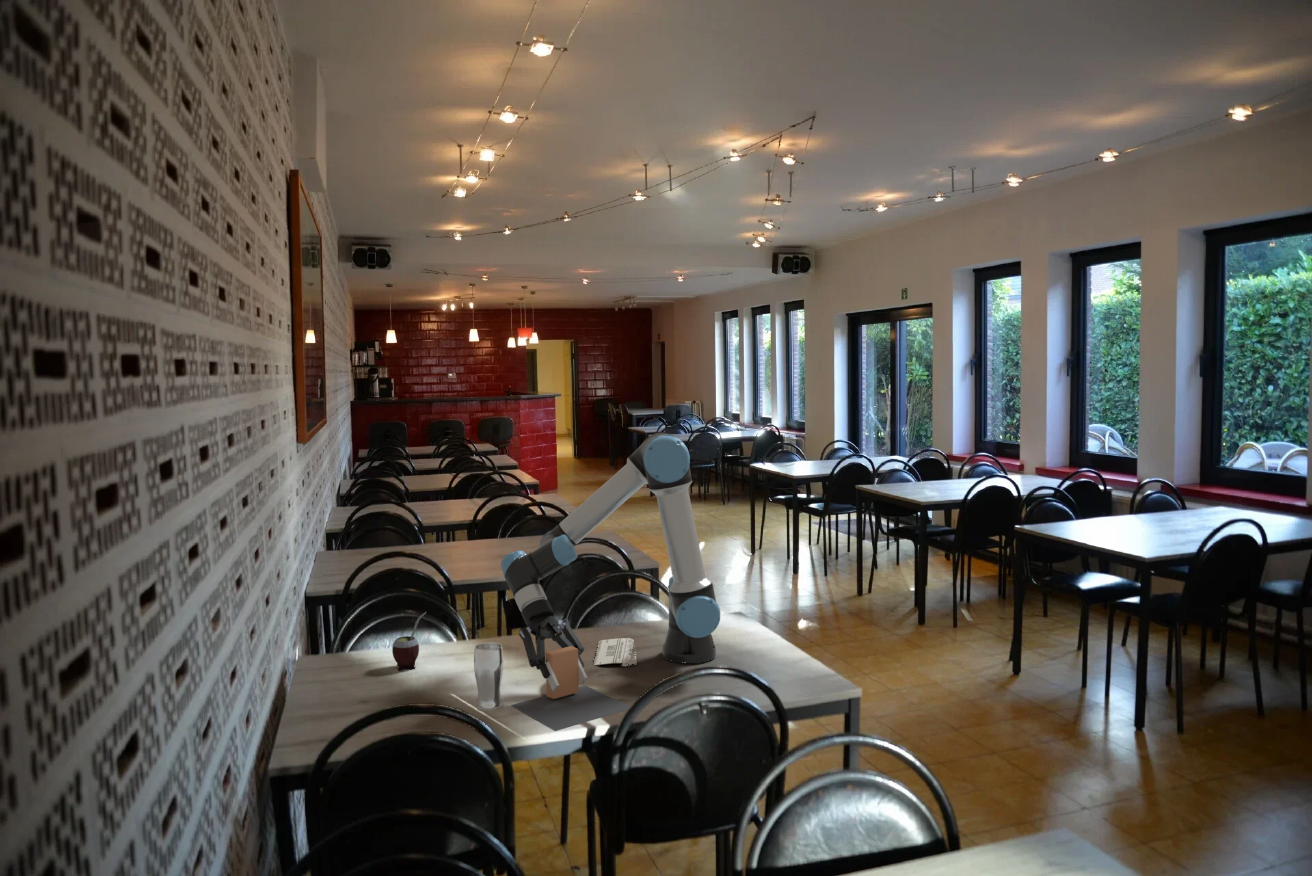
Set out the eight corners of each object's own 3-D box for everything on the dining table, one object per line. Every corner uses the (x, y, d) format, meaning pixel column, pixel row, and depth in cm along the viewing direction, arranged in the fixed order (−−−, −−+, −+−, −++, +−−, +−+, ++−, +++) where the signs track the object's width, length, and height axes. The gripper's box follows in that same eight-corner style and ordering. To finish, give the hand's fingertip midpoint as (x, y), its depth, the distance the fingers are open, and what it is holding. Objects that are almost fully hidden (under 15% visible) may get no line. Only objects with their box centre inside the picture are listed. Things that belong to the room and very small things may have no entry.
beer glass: (505, 701, 223) (504, 641, 222) (501, 712, 216) (501, 650, 215) (477, 702, 222) (476, 642, 221) (472, 712, 216) (471, 650, 214)
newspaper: (636, 669, 248) (635, 660, 248) (592, 673, 249) (591, 665, 248) (640, 643, 271) (639, 635, 271) (599, 647, 271) (598, 639, 271)
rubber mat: (585, 686, 233) (585, 685, 233) (633, 709, 218) (633, 707, 218) (510, 706, 219) (510, 705, 219) (555, 732, 204) (555, 731, 204)
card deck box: (571, 688, 229) (571, 646, 228) (578, 692, 226) (578, 648, 225) (546, 695, 224) (545, 652, 223) (553, 699, 222) (552, 655, 221)
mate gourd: (387, 669, 246) (385, 615, 245) (407, 661, 253) (406, 608, 252) (408, 673, 243) (406, 618, 242) (428, 665, 250) (427, 611, 249)
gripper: (562, 607, 242) (598, 682, 231) (494, 621, 229) (528, 701, 218) (573, 591, 238) (610, 667, 226) (504, 604, 225) (540, 686, 213)
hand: (570, 684), depth 222 cm, fingers closed on card deck box, 7 cm apart
